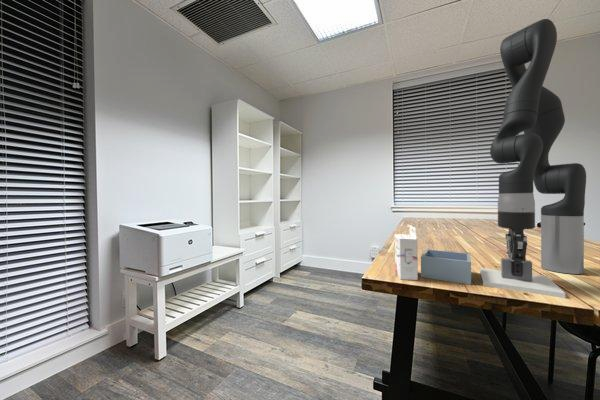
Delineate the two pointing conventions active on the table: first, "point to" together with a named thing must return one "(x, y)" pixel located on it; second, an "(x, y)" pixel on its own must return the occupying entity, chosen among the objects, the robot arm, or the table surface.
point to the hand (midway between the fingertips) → (515, 273)
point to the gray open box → (446, 266)
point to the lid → (520, 280)
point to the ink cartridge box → (406, 255)
